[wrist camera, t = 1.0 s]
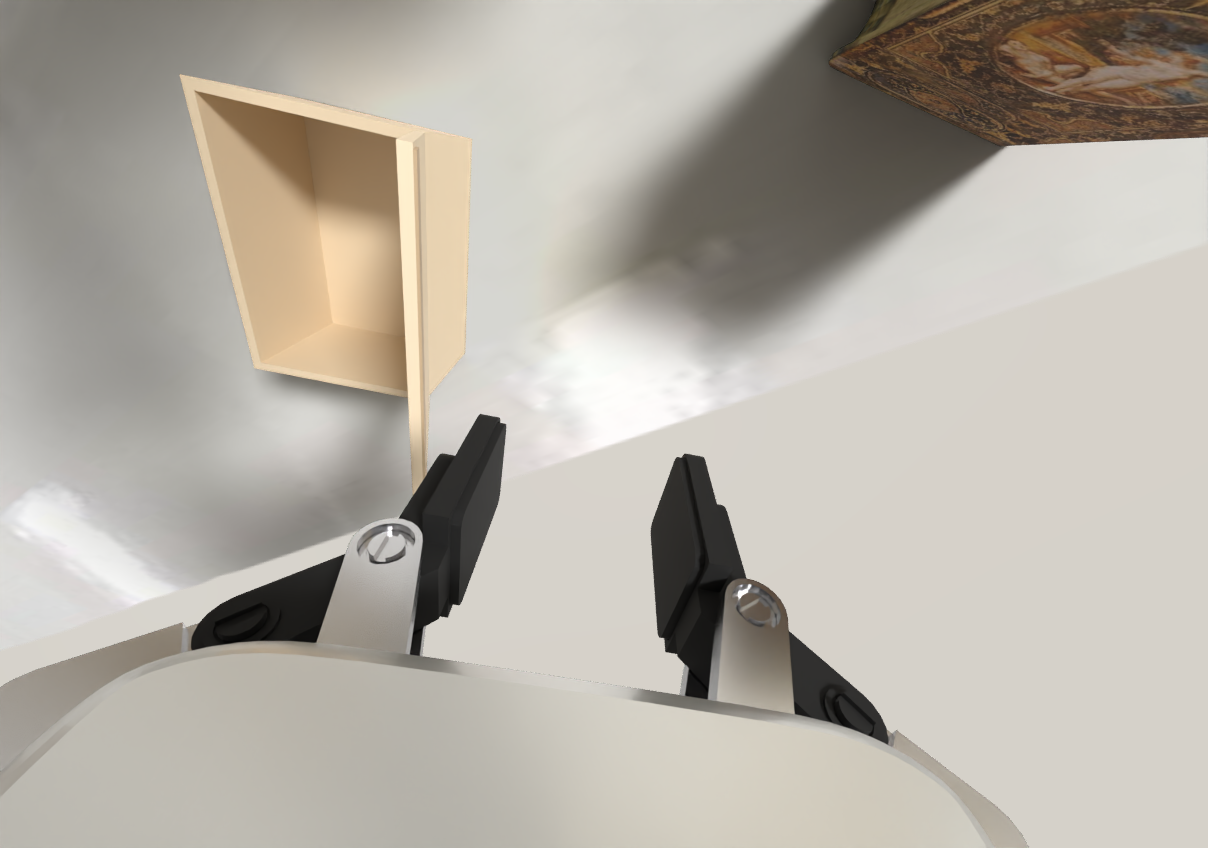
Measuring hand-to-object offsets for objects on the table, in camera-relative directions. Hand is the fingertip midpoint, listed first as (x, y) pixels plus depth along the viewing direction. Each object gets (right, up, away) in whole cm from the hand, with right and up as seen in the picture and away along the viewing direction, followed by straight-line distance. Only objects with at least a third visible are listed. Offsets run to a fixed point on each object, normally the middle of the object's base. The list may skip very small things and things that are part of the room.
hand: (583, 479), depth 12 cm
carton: (-18, +17, +25) cm, 35 cm away
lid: (-10, +7, +11) cm, 17 cm away
